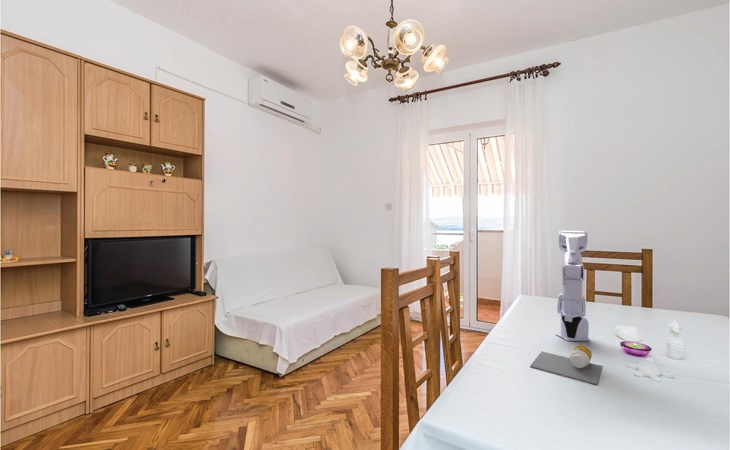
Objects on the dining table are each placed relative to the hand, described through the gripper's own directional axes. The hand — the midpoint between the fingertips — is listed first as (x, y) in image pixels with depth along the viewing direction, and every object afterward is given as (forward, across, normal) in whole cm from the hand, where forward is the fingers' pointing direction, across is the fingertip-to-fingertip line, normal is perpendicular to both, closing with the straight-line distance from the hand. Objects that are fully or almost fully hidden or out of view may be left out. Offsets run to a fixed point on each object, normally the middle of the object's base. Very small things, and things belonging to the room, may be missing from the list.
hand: (571, 337), depth 116 cm
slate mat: (+7, -9, 0) cm, 12 cm away
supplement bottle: (+4, 0, -4) cm, 5 cm away
